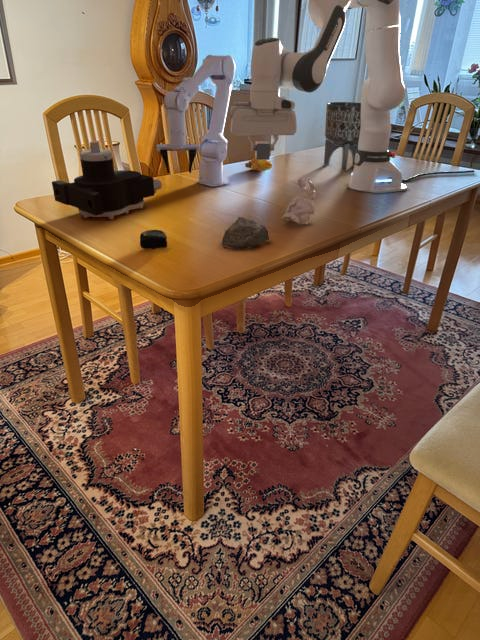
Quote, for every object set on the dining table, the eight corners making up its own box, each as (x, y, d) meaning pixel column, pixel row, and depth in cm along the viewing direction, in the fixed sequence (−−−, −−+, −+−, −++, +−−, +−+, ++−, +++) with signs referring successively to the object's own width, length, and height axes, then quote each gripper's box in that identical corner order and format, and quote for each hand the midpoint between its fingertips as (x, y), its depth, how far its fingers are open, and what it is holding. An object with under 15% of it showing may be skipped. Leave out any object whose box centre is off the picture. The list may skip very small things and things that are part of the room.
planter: (313, 167, 208) (319, 103, 195) (331, 160, 222) (338, 101, 209) (353, 173, 199) (362, 107, 185) (369, 166, 213) (379, 104, 199)
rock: (255, 233, 128) (256, 211, 124) (276, 242, 122) (278, 219, 119) (217, 244, 120) (217, 220, 117) (239, 254, 115) (239, 230, 111)
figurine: (321, 218, 142) (325, 177, 135) (298, 231, 131) (302, 187, 125) (298, 213, 146) (301, 173, 139) (274, 225, 135) (277, 182, 128)
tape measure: (140, 252, 115) (139, 238, 113) (141, 242, 120) (140, 229, 119) (167, 251, 116) (166, 237, 114) (167, 241, 121) (166, 228, 120)
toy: (243, 164, 194) (247, 156, 207) (248, 178, 197) (252, 170, 210) (268, 155, 191) (270, 148, 204) (272, 170, 194) (275, 162, 206)
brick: (256, 159, 141) (256, 143, 139) (255, 156, 145) (255, 141, 143) (269, 159, 141) (270, 143, 139) (267, 156, 145) (268, 141, 143)
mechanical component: (44, 141, 131) (128, 131, 151) (57, 212, 142) (134, 194, 162) (86, 151, 119) (172, 139, 139) (97, 228, 130) (175, 206, 150)
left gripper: (155, 133, 150) (158, 175, 156) (199, 132, 152) (200, 174, 158) (155, 129, 156) (158, 170, 162) (197, 129, 158) (198, 170, 164)
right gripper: (231, 102, 131) (231, 152, 138) (300, 102, 134) (296, 152, 141) (228, 100, 136) (228, 149, 143) (294, 101, 139) (291, 148, 146)
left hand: (179, 172), depth 161 cm, fingers open, 7 cm apart
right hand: (262, 150), depth 142 cm, fingers closed on brick, 4 cm apart
